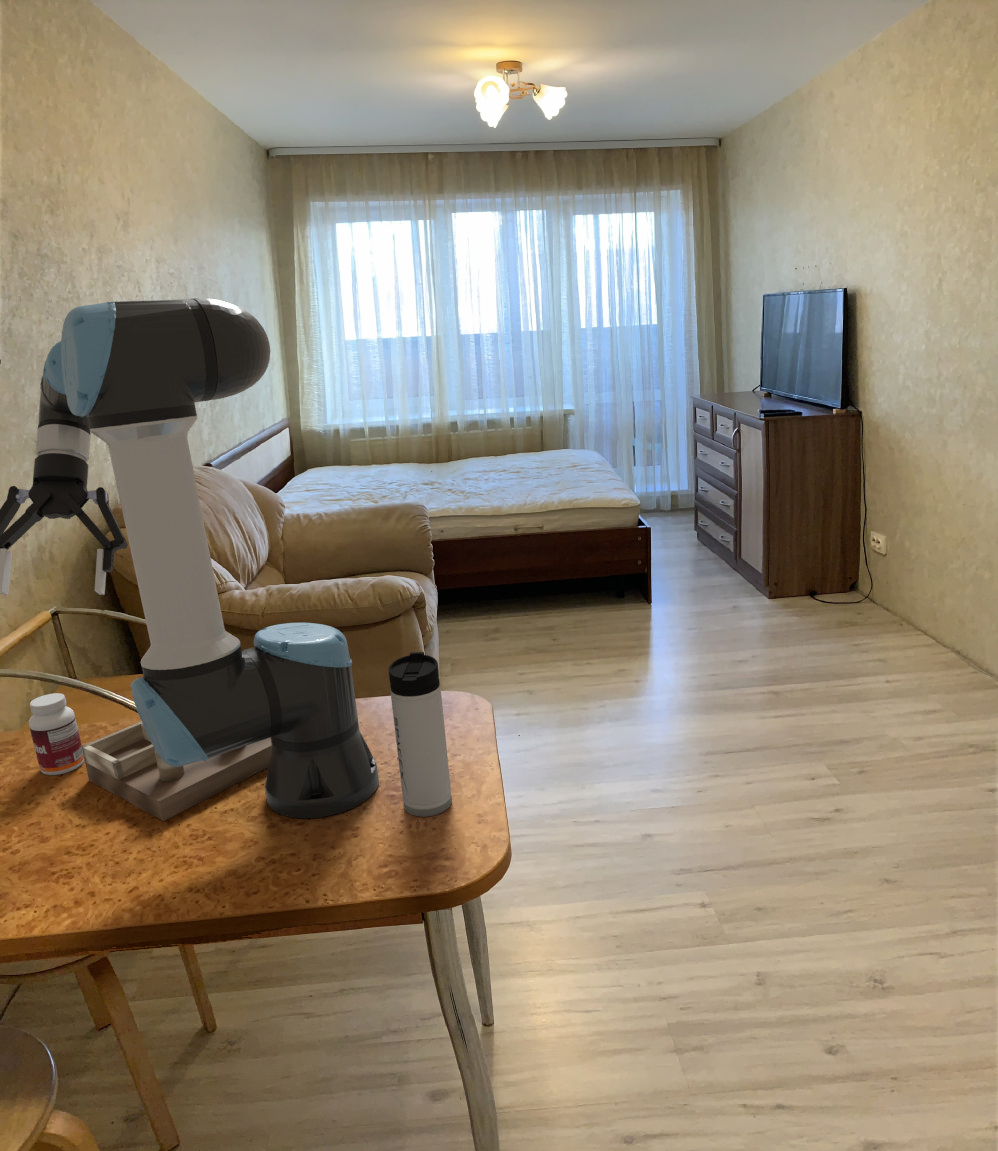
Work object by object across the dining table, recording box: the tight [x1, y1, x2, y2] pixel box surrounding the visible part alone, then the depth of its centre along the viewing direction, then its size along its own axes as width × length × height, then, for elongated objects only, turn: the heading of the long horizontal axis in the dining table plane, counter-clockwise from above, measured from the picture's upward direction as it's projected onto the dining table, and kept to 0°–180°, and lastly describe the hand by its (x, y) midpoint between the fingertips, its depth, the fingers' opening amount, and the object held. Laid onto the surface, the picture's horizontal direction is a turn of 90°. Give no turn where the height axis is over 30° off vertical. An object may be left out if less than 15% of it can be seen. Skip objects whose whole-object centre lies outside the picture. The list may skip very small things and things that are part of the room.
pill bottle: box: [28, 692, 85, 776], centre depth 132 cm, size 6×6×11 cm
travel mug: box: [388, 651, 453, 818], centre depth 112 cm, size 6×7×20 cm
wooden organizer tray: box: [81, 720, 272, 822], centre depth 128 cm, size 20×20×7 cm
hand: (51, 593), depth 133 cm, fingers open, 13 cm apart
